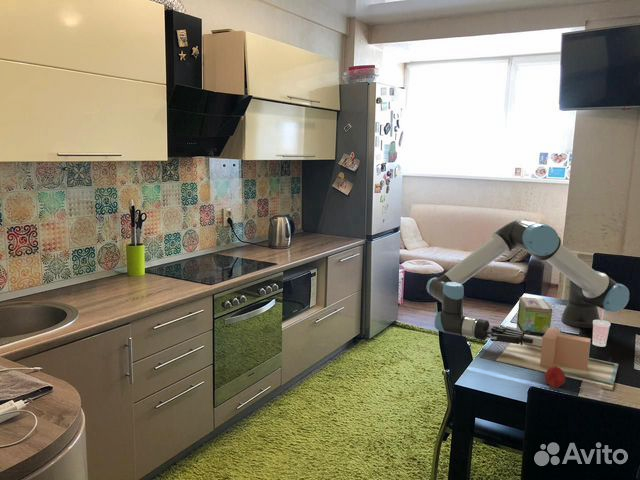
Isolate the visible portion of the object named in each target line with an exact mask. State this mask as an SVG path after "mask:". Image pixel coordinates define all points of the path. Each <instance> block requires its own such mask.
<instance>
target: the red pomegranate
mask: <svg viewBox="0 0 640 480" xmlns="http://www.w3.org/2000/svg"><path fill="white" fill-rule="evenodd" d="M544 380H545V381H546V383H547V384H548V385H549V386H550V387H551V388H552V389H554V390H555V389H558V388H559V387H561V386H563V385H564V384H565V382H566V376H565V374H564V372H563V371H562V370H561V369H560V368H559V367H558V365H555V366H553V367H551V368H549V369H548V370H547V372H545V374H544Z"/></svg>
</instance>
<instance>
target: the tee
mask: <svg viewBox="0 0 640 480" xmlns="http://www.w3.org/2000/svg"><path fill="white" fill-rule="evenodd" d="M561 330H562V329H559V328H554V327H550V328H548V329H547V331H546V333H545V334H544V336H543V339H542V347H541V348H542V349H541V359H540V365H542V366H547V367H553V366H554V364H558V365H562V366H567V367H572V368H576V369H581V370H587V367H588V360H589V358H590V350H591V340H592V338H589V337H583V336H577V335H573V334H572V335H571V334H567V333H563V332H561Z"/></svg>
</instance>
